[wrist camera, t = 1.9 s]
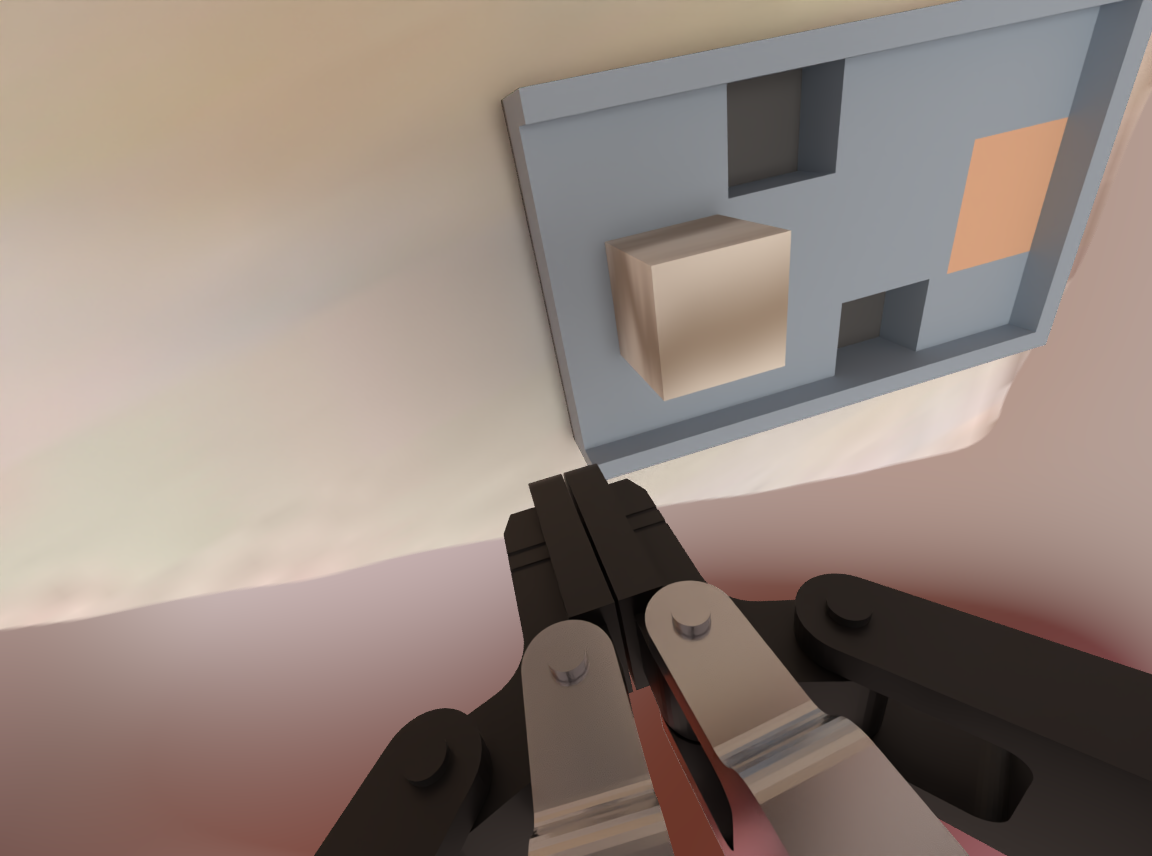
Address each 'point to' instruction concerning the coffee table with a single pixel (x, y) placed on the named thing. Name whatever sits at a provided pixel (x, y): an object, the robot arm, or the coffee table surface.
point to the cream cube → (701, 302)
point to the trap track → (831, 200)
